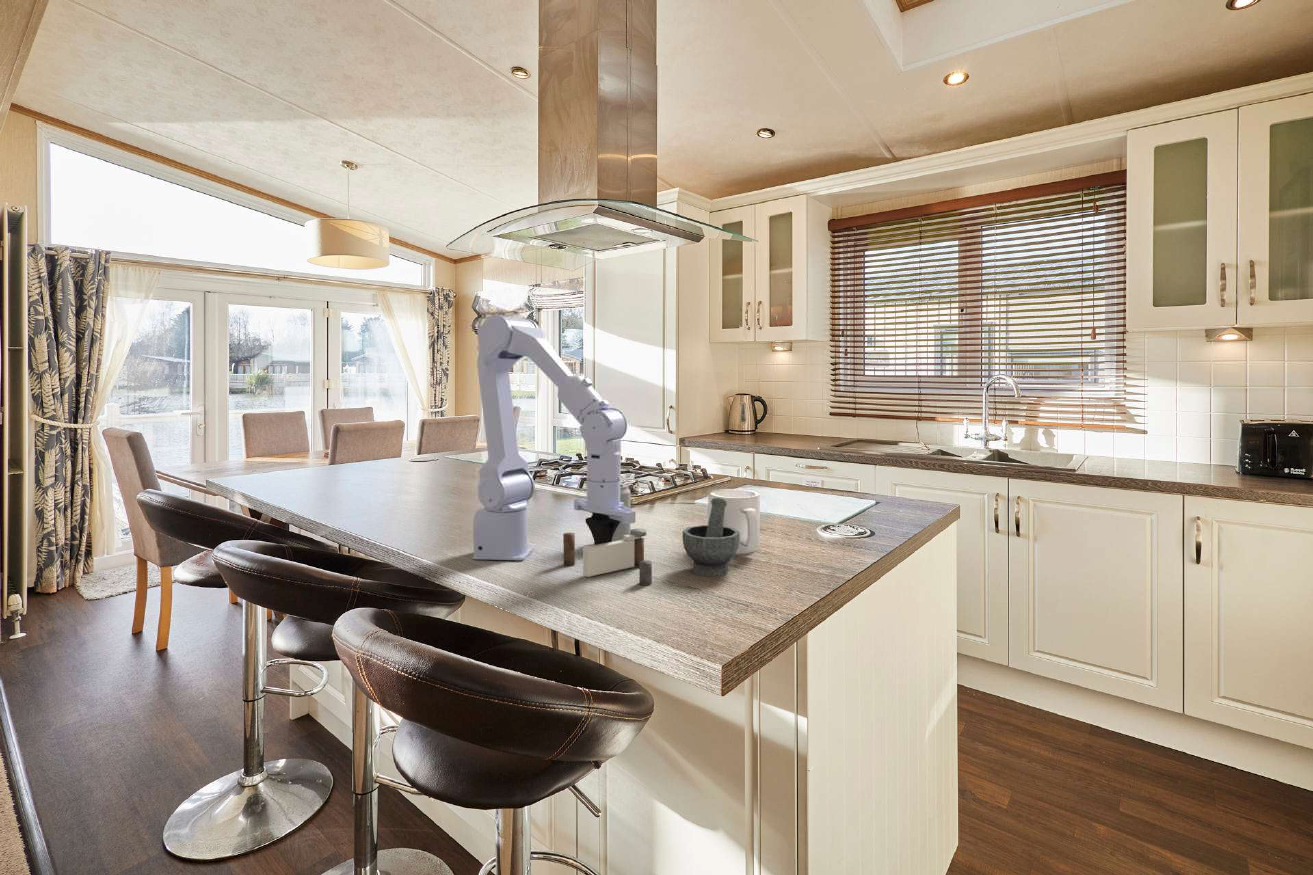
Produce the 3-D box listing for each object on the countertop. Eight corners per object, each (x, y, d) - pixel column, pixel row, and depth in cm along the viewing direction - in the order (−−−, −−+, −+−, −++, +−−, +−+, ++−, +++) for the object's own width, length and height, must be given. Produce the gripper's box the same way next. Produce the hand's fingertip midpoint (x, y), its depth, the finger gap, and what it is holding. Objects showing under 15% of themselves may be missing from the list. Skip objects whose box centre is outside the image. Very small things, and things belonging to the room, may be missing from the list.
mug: (778, 555, 120) (780, 499, 119) (731, 560, 116) (732, 503, 115) (742, 538, 133) (743, 487, 132) (698, 542, 129) (699, 491, 128)
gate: (639, 560, 115) (639, 527, 114) (649, 564, 113) (649, 530, 112) (581, 573, 107) (580, 538, 107) (589, 577, 105) (589, 541, 105)
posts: (550, 582, 103) (550, 549, 103) (564, 562, 115) (564, 532, 114) (651, 585, 102) (651, 552, 102) (655, 564, 114) (655, 534, 113)
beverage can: (626, 548, 124) (626, 488, 123) (594, 546, 125) (594, 486, 124) (633, 540, 130) (633, 482, 129) (603, 538, 132) (603, 481, 130)
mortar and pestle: (729, 582, 104) (730, 510, 103) (675, 575, 108) (676, 505, 107) (745, 563, 115) (746, 497, 114) (695, 557, 118) (696, 494, 117)
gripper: (649, 482, 106) (648, 562, 107) (596, 472, 116) (595, 544, 118) (616, 487, 101) (616, 570, 103) (564, 475, 112) (564, 551, 113)
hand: (603, 557), depth 110 cm, fingers closed, pressing on gate
